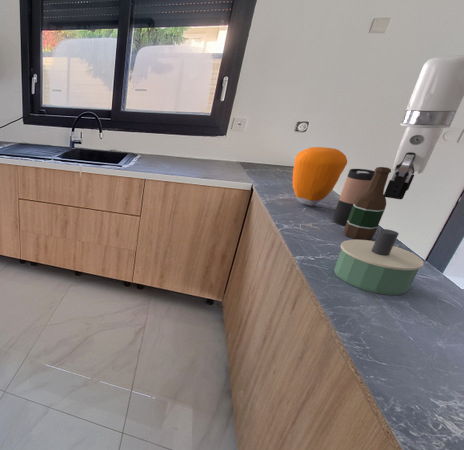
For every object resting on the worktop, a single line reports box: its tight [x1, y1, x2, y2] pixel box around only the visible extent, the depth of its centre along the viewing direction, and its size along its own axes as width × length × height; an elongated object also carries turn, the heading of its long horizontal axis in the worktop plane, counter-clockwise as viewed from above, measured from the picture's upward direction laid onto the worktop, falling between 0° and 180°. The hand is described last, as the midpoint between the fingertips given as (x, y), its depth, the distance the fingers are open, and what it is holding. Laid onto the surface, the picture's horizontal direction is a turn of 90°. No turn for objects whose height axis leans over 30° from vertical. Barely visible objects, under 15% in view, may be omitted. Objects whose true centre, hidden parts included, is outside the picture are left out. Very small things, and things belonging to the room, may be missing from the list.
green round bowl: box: [333, 249, 420, 296], centre depth 82 cm, size 15×15×8 cm
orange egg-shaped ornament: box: [292, 146, 348, 207], centre depth 132 cm, size 17×17×25 cm
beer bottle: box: [343, 166, 392, 241], centre depth 103 cm, size 8×8×24 cm
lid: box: [340, 228, 425, 270], centre depth 80 cm, size 16×16×7 cm
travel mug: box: [332, 168, 375, 227], centre depth 114 cm, size 8×8×20 cm
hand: (395, 193), depth 75 cm, fingers open, 9 cm apart
